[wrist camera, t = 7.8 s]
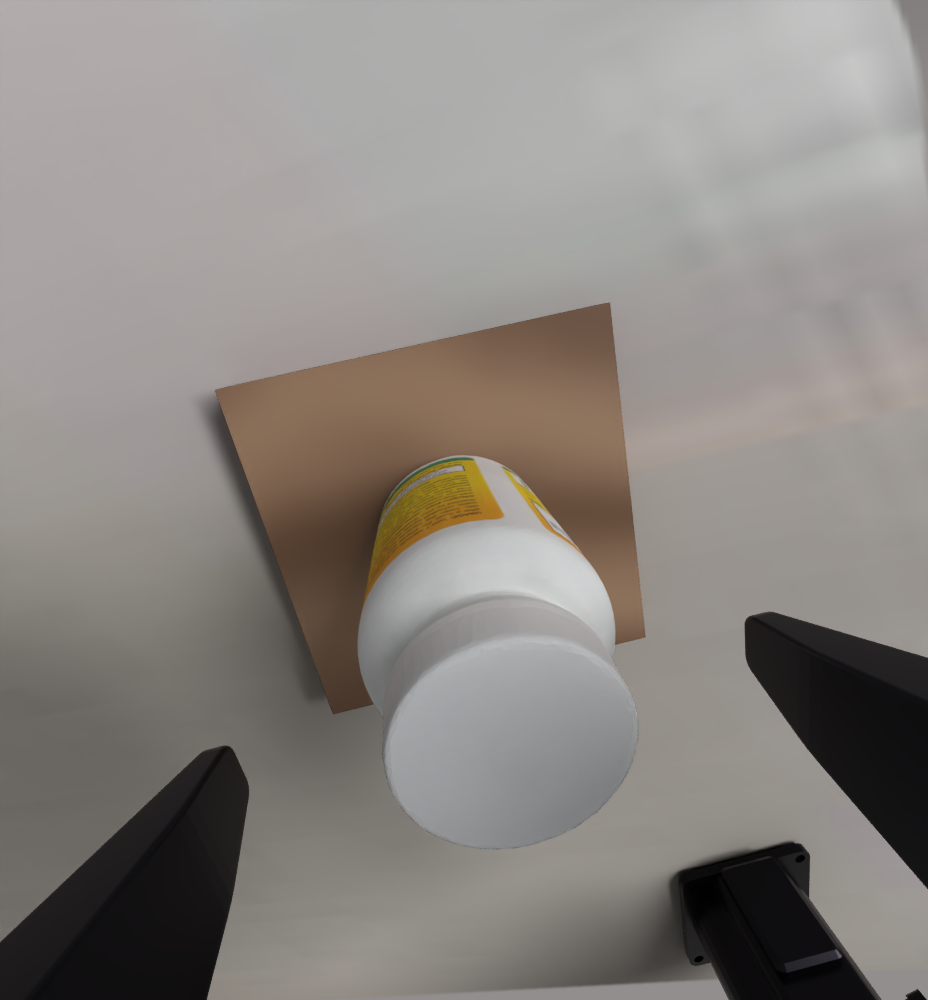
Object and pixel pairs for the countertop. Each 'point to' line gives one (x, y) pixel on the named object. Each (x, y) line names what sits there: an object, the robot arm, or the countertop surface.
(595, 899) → the countertop surface
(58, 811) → the countertop surface
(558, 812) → the supplement bottle
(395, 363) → the walnut board
